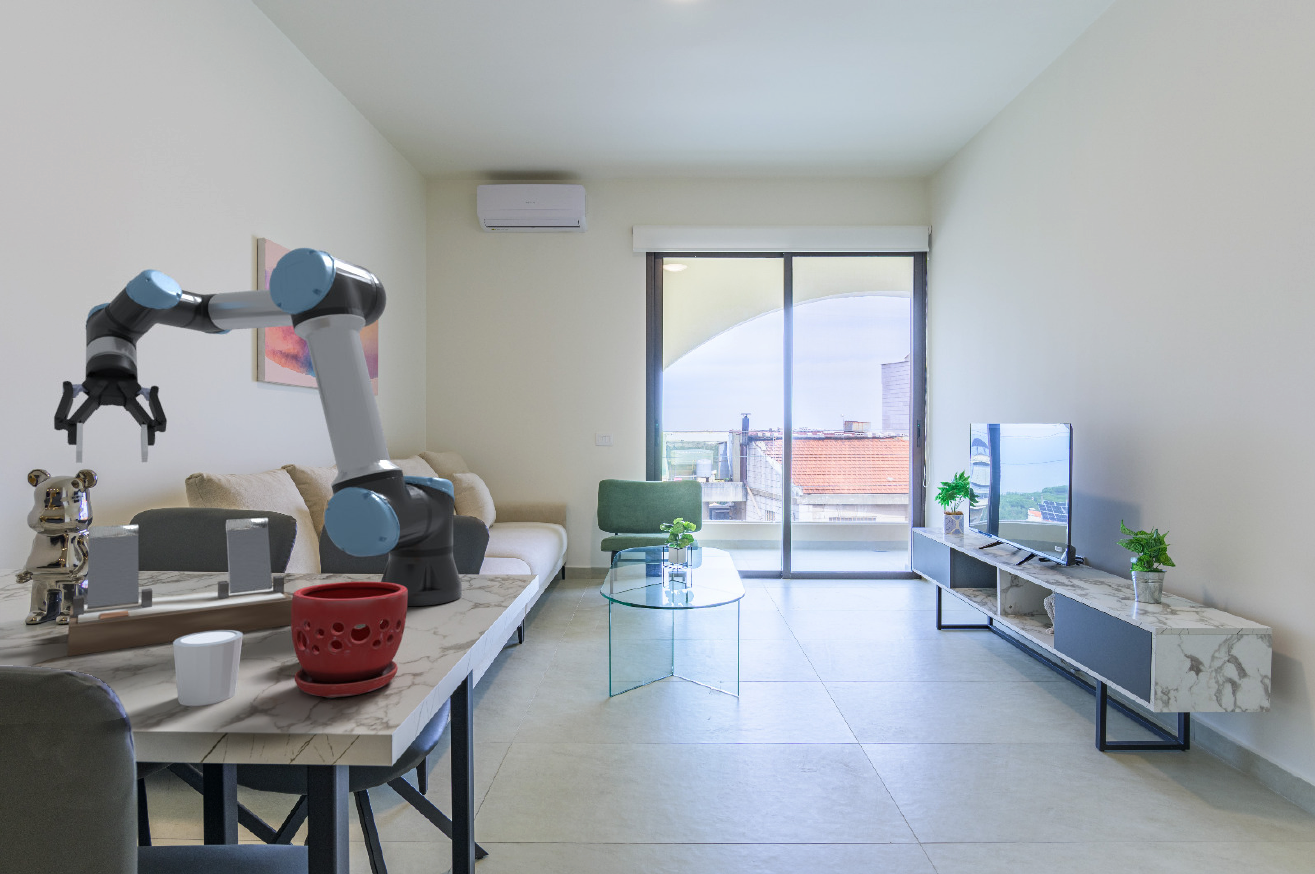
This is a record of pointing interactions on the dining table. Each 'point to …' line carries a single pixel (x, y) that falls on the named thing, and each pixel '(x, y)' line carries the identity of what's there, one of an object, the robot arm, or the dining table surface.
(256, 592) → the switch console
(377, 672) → the plant pot
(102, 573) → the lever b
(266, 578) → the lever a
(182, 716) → the dining table surface
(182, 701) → the white cup
